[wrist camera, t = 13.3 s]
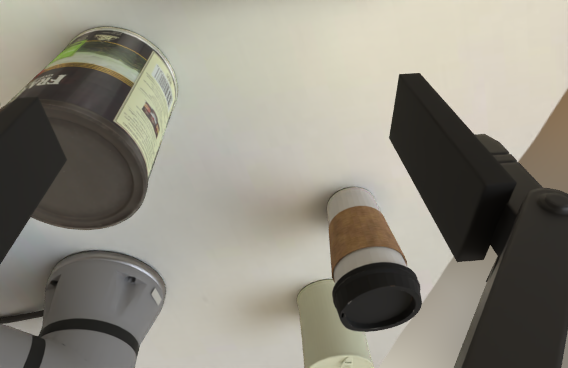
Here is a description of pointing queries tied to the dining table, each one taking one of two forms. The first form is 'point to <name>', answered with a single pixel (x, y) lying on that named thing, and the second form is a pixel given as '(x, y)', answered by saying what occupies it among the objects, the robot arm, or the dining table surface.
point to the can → (328, 332)
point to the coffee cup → (368, 265)
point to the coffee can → (103, 125)
